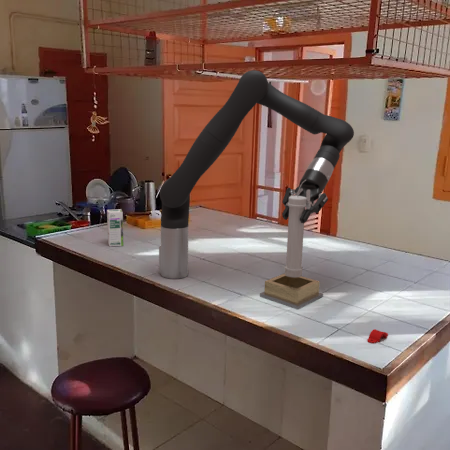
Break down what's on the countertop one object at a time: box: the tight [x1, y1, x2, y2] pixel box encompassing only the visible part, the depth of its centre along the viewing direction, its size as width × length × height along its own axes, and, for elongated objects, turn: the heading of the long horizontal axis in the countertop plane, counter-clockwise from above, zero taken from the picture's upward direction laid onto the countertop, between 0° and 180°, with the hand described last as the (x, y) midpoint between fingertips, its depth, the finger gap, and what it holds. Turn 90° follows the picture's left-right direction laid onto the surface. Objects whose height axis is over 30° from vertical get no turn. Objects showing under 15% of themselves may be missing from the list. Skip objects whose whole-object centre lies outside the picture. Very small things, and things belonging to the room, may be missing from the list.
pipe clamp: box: [366, 329, 389, 344], centre depth 129 cm, size 8×3×2 cm, turn 133°
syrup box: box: [106, 208, 124, 247], centre depth 204 cm, size 6×6×14 cm
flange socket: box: [259, 272, 324, 310], centre depth 154 cm, size 14×14×5 cm
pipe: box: [284, 180, 307, 278], centre depth 150 cm, size 6×6×30 cm
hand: (293, 219), depth 148 cm, fingers closed on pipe, 5 cm apart
